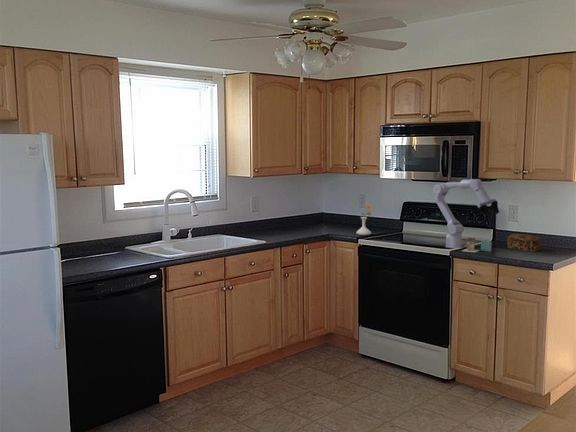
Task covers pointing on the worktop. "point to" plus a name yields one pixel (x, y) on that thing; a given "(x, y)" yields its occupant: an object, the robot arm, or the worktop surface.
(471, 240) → the brown wooden box
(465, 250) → the mat
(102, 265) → the worktop surface
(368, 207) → the flower in vase
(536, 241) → the bread
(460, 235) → the robot arm
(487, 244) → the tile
